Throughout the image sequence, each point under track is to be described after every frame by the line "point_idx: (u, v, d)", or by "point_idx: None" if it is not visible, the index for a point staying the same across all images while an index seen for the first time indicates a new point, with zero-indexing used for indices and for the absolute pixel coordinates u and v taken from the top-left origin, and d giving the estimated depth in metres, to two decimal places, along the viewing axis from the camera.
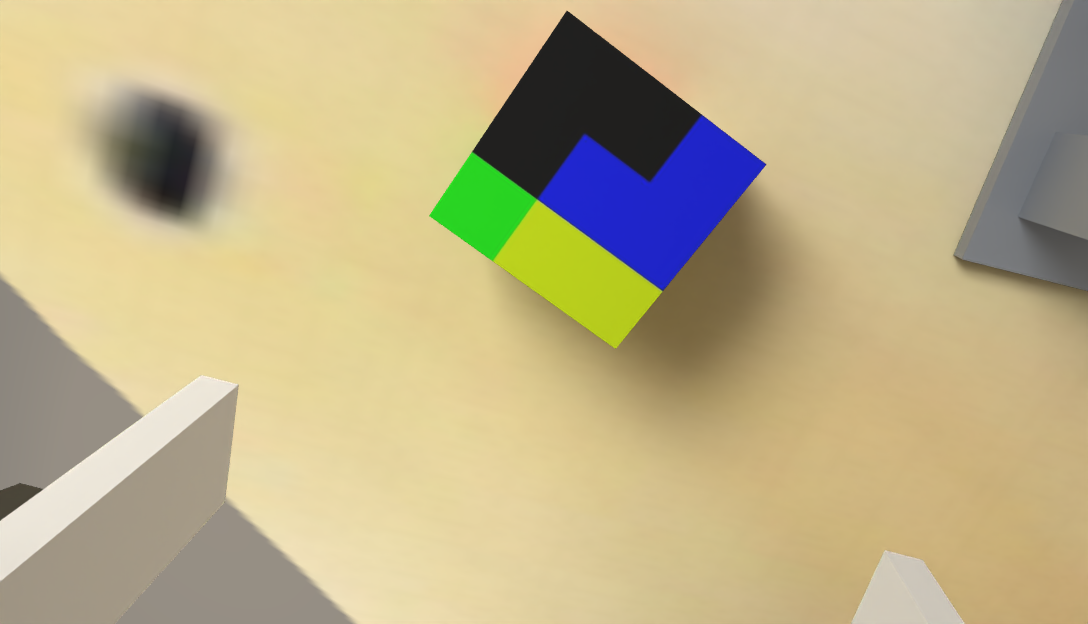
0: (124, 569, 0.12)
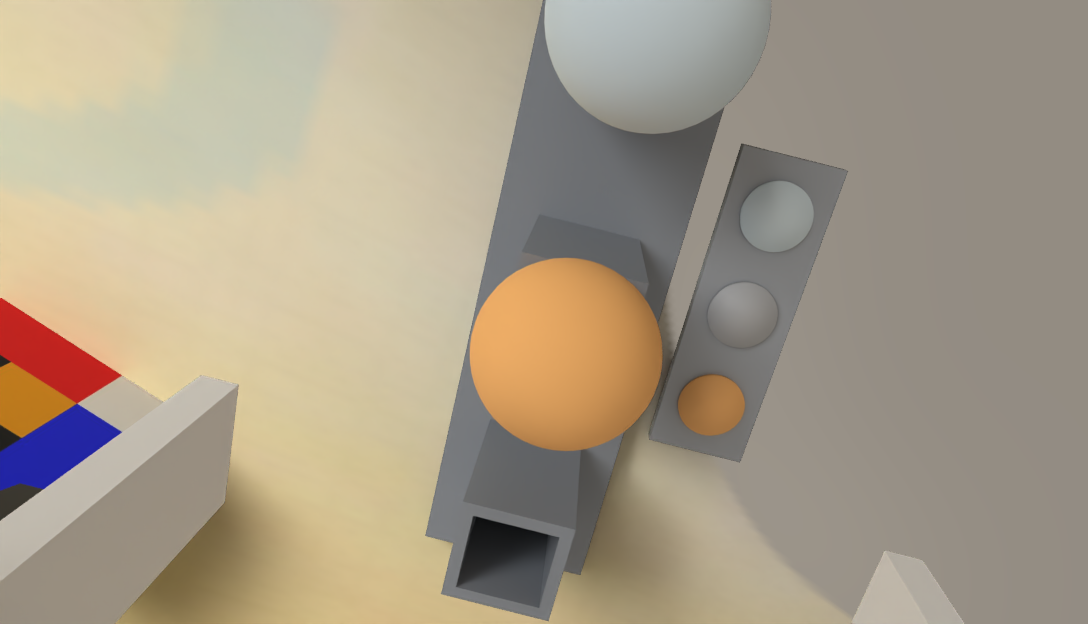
0: (123, 569, 0.12)
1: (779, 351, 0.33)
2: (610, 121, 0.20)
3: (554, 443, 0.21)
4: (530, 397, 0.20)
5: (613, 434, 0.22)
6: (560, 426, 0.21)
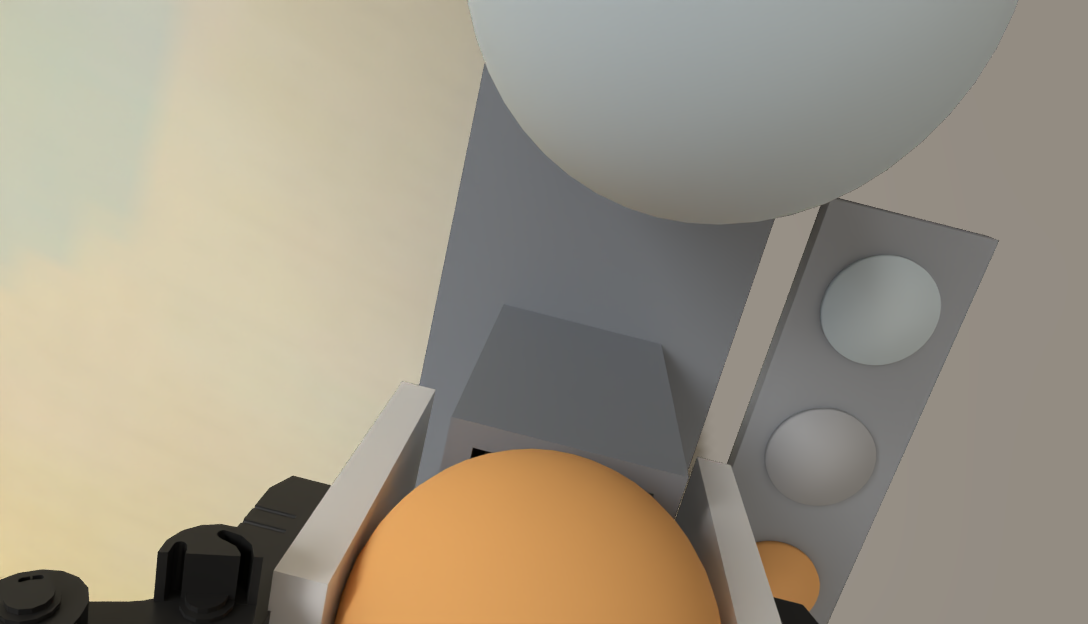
0: None
1: (875, 510, 0.21)
2: (620, 200, 0.08)
3: None
4: None
5: None
6: None
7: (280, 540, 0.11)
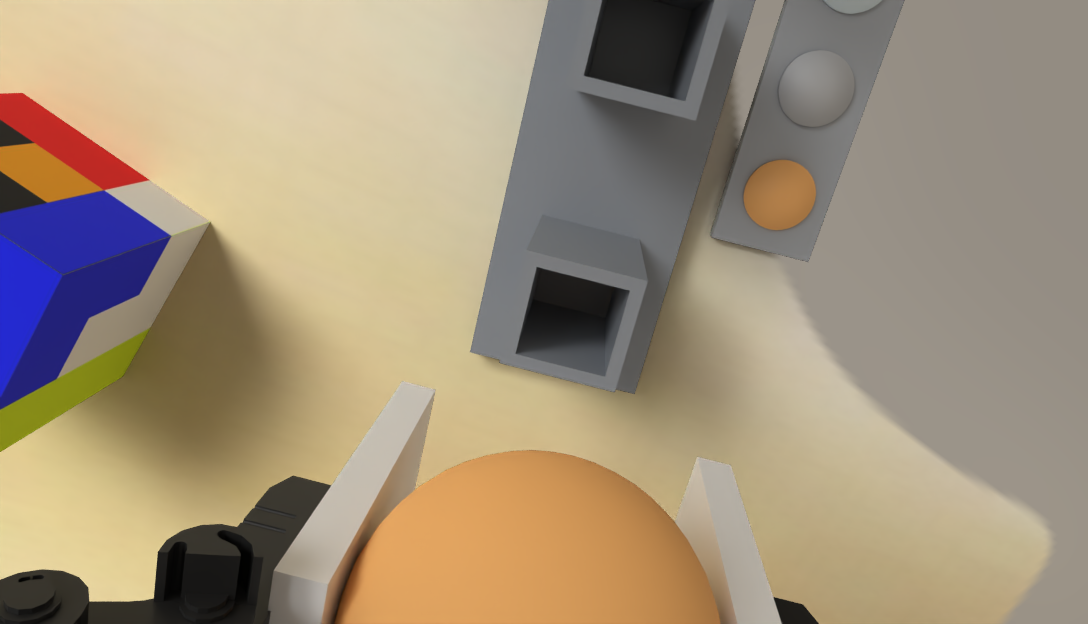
0: None
1: (854, 131, 0.31)
2: None
3: None
4: None
5: None
6: None
7: (280, 540, 0.11)
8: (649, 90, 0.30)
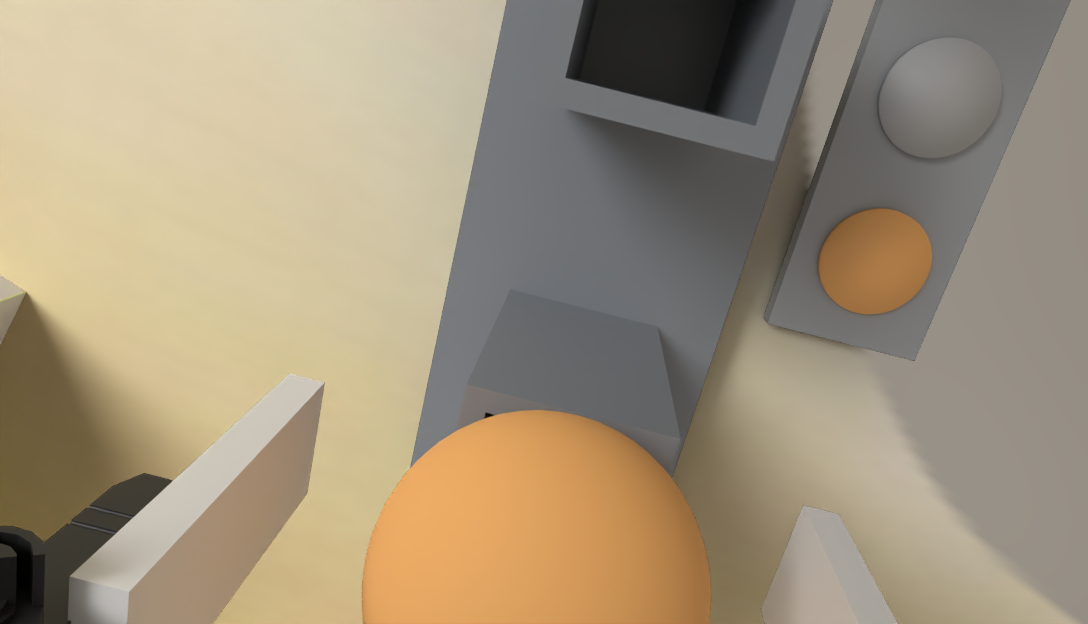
0: (237, 552, 0.12)
1: (996, 165, 0.20)
2: None
3: None
4: None
5: None
6: None
7: None
8: (675, 101, 0.19)
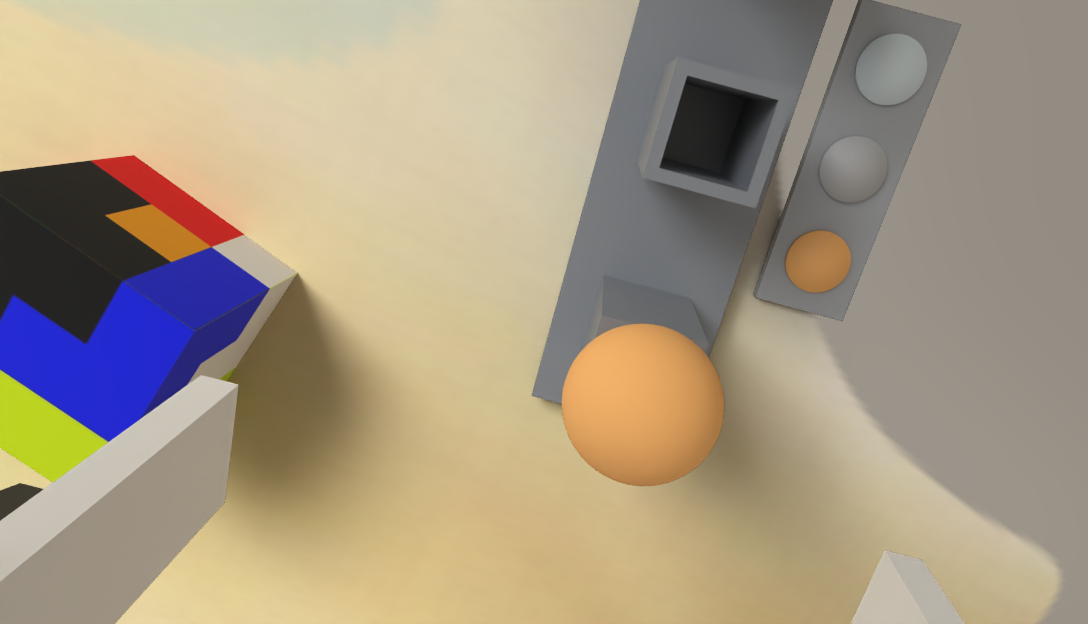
0: (124, 569, 0.12)
1: (886, 207, 0.34)
2: None
3: (634, 480, 0.26)
4: (619, 443, 0.25)
5: (683, 473, 0.26)
6: (642, 467, 0.25)
7: None
8: (703, 167, 0.34)
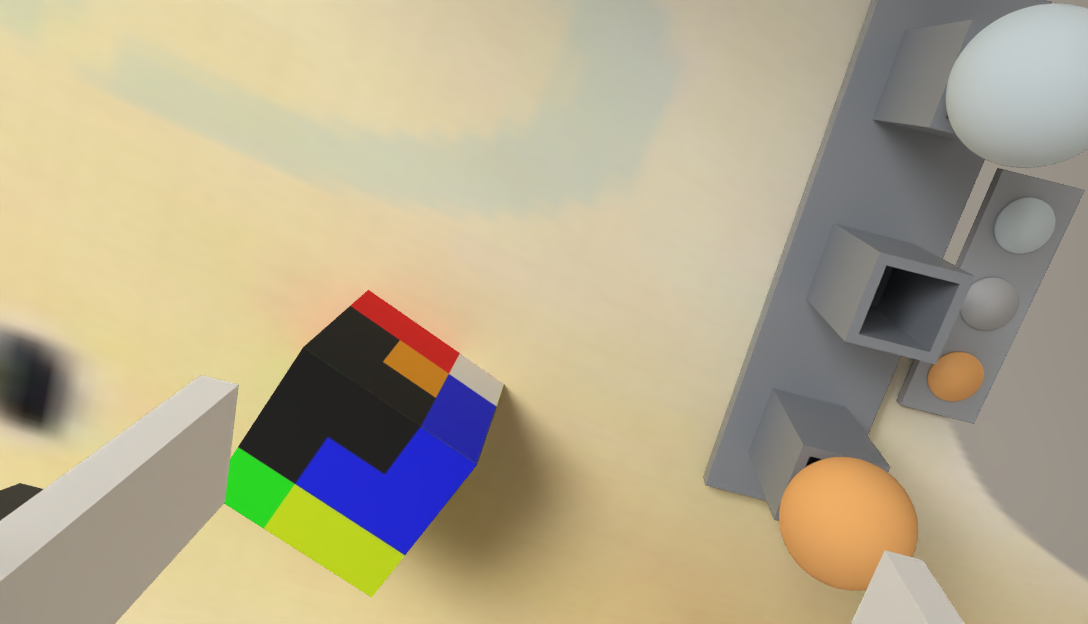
0: (123, 569, 0.12)
1: (1015, 333, 0.41)
2: (1002, 159, 0.28)
3: (851, 588, 0.33)
4: (845, 563, 0.32)
5: None
6: (861, 581, 0.32)
7: None
8: None
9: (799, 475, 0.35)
